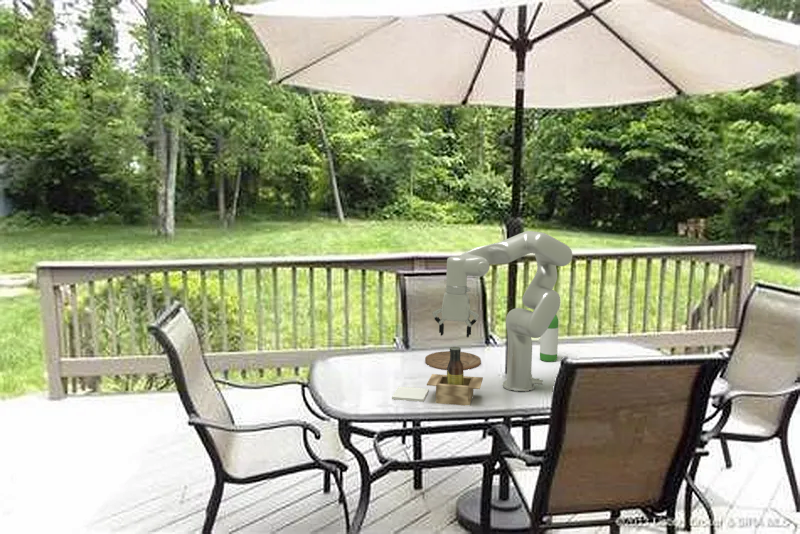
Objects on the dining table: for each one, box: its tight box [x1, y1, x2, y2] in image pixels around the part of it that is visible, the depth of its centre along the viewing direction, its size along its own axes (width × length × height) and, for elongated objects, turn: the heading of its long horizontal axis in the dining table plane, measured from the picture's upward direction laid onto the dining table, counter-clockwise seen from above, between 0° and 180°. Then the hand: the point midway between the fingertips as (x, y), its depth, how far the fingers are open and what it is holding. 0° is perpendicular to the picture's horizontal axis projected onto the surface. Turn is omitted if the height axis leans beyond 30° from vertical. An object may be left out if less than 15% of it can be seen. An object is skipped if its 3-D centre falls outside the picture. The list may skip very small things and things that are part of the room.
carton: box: [426, 373, 484, 406], centre depth 242 cm, size 20×13×7 cm, turn 78°
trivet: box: [424, 350, 482, 371], centre depth 289 cm, size 25×25×2 cm
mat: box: [391, 386, 430, 403], centre depth 245 cm, size 12×12×1 cm
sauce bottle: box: [446, 346, 465, 385], centre depth 241 cm, size 7×6×20 cm
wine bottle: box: [539, 314, 559, 363], centre depth 291 cm, size 8×8×30 cm
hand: (454, 335), depth 238 cm, fingers open, 9 cm apart
